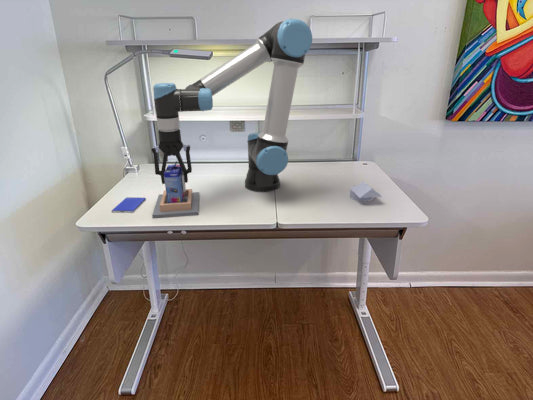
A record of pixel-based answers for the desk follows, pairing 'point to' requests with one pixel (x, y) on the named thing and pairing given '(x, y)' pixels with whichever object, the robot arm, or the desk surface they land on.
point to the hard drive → (129, 205)
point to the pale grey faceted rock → (363, 192)
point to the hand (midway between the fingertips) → (176, 191)
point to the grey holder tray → (177, 206)
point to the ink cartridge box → (174, 183)
